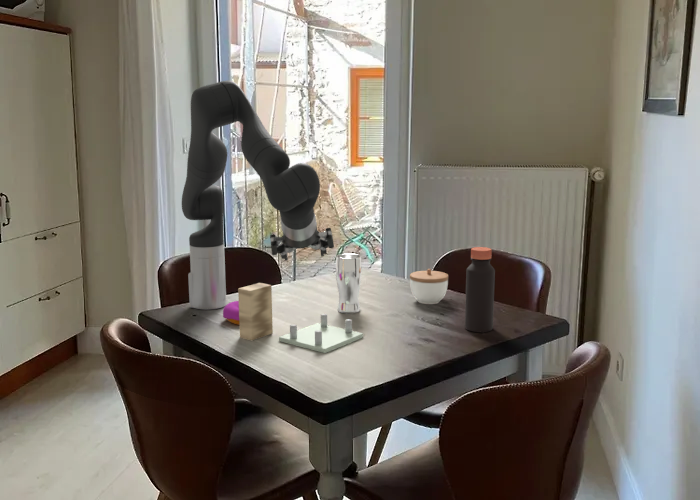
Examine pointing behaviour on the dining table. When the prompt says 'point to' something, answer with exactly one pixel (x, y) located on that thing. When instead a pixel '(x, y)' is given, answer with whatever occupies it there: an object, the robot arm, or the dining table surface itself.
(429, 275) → the lidded jar
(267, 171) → the robot arm
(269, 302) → the oak block
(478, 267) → the bottle
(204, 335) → the dining table surface
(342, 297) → the shiny metal tumbler
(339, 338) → the peg stand
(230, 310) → the donut
